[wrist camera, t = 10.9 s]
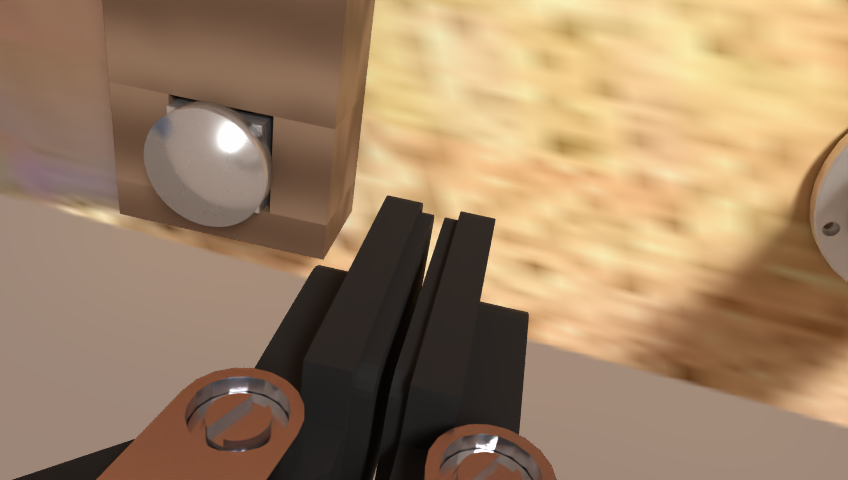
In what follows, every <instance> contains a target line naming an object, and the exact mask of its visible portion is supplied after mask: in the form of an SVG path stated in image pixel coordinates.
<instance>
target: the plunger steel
mask: <svg viewBox="0 0 848 480" xmlns="http://www.w3.org/2000/svg"><path fill="white" fill-rule="evenodd" d="M273 119H274V116H269V115H265V114H260V113H255V112H251V111H246V110H241V109H236V108H232V107H227V106H223V105H220V104H217V103H213V102H205V101H198V100H194V99H189V98H184V97H179V98H178V99H176V100H175V101H173V102H172V103H170V104H169V105H167V114H166V115H165V116H164V117H162V118H161V119H159V120H158V121H157V122H156V123H155V124H154V125H153V127H152V128H151V129H150V131H149V133H148V135H147V138H146V141H145V146H144V163H145V168H146V172H147V175H148V177H149V180H150V182H151V184H152V186H153V188H154V189H155V191H156V192H157V194H158V195H159V196H160V197H161V199H162V200H163V201H164V202H165V203H166V204H167V205H168V206H169V207H170V208H171V209H173V210H174V211H175V212H176V213H178V214H180V215H181V216H183V217H184V218H186V219H188V220H190V221H193V222H195V223H198V224H201V225H205V226H211V227H226V226H231V225H235V224H237V223H240V222H242V221H244V220H246V219H247V218H248V217H249V216H251V215H252V214H253V213H260V212H261V211H262V209H263V208H264V207H265V206H266V205H267V203H268V202H269V201H270V192H271V186H272V182H273V162H272V144H273Z"/></svg>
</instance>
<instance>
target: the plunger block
mask: <svg viewBox="0 0 848 480" xmlns="http://www.w3.org/2000/svg"><path fill="white" fill-rule="evenodd" d="M102 2H103V14H104V26H105V38H106V50H107V62H108V74H109V86H110V98H111V110H112V122H113V134H114V147H115V159H116V171H117V183H118V195H119V207H120V214H124V215H128V216H133V217H137V218H142V219H146V220H150V221H155V222H159V223H164V224H168V225H173V226H177V227H181V228H186V229H190V230H195V231H199V232H204V233H208V234H212V235H217V236H221V237H226V238H230V239H235V240H239V241H243V242H248V243H252V244H257V245H261V246H266V247H270V248H274V249H279V250H283V251H288V252H292V253H296V254H301V255H305V256H310V257H314V258H319V259H324V258H325V256H326V254H327V252H328V251H329V249H330V247H331V246H332V244H333V242H334V240H335V239H336V237H337V235H338V234H339V232H340V230H341V228H342V227H343V225H344V223H345V222H346V220H347V218H348V216H349V215H350V213H351V211H352V204H353V194H354V185H355V176H356V167H357V158H358V149H359V140H360V131H361V121H362V112H363V103H364V94H365V85H366V76H367V67H368V58H369V48H370V39H371V30H372V21H373V12H374V3H375V0H102ZM179 97H184V98H189V99H194V100H198V101H205V102H213V103H217V104H220V105H223V106H227V107H232V108H236V109H241V110H246V111H251V112H255V113H260V114H265V115H269V116H274V119H273V144H272V162H273V182H272V186H271V192H270V201H269V202H268V203H267V205H266V206H265V207H264V208H263V209H262V211H261V212H260V213H253V214H252V215H251V216H249V217H248V218H247V219H246V220H244V221H242V222H240V223H237V224H235V225H231V226H226V227H211V226H205V225H201V224H198V223H195V222H193V221H190V220H188V219H186V218H184V217H183V216H181V215H180V214H178V213H176V212H175V211H174V210H173V209H171V208H170V207H169V206H168V205H167V204H166V203H165V202H164V201H163V200H162V199H161V197H160V196H159V195H158V194H157V192H156V191H155V189H154V188H153V186H152V184H151V182H150V180H149V177H148V175H147V172H146V168H145V163H144V146H145V141H146V138H147V135H148V133H149V131H150V129H151V128H152V127H153V125H154V124H155V123H156V122H157V121H158V120H159V119H161V118H162V117H164V116H165V115H166V114H167V105H169V104H170V103H172V102H173V101H175V100H176V99H178V98H179Z"/></svg>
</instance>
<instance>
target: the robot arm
mask: <svg viewBox="0 0 848 480" xmlns="http://www.w3.org/2000/svg"><path fill="white" fill-rule="evenodd" d="M422 208H423V203H420V202H416V201H411V200H406V199H402V198H397V197H392V196H387V197H386V199H385V201H384V202H383V204H382V206H381V208H380V210H379V212H378V214H377V216H376V218H375V220H374V222H373V224H372V226H371V228H370V230H369V232H368V234H367V236H366V238H365V240H364V242H363V244H362V246H361V248H360V250H359V252H358V254H357V256H356V258H355V259H354V261H353V263H352V265H351V267H350V269H349V271H343V270H339V269H334V268H330V267H325V266H321V265H318V266H316V267H315V268H314V269H313V271H312V272H311V274H310V275H309V277H308V279H307V281H306V282H305V284H304V286H303V287H302V289H301V291H300V292H299V294H298V296H297V297H296V299H295V301H294V303H293V304H292V306H291V308H290V309H289V311H288V313H287V314H286V316H285V318H284V319H283V321H282V323H281V324H280V326H279V328H278V330H277V331H276V333H275V334H274V336H273V338H272V340H271V341H270V343H269V345H268V346H267V348H266V350H265V351H264V353H263V355H262V356H261V358H260V360H259V362H258V363H257V365H256V367H255V368H230V369H225V370H220V371H215V372H212V373H210V374H208V375H205V376H203V377H201V378H199V379H196V380H195V381H194V382H193V383H191V384H190V385H188V386H187V387H186V388H185V389H183V390H182V391H181V392H180V393H179V394H178V395H177V396H176V397H175V398H174V399H173V400H172V401H171V402H170V404H169V405H168V406H167V407H166V408H165V409H164V410H163V411H162V412H161V413H160V414H159V415H158V416H157V417H156V418H155V419H154V420H153V421H152V422H151V423H150V424H149V425H148V426H147V427H146V429H145V430H144V431H143V432H142V433H141V434H140V435H139V436H138V437H137V438H136V439H133V440H130V441H128V442H124V443H122V444H119V445H116V446H112V447H109V448H106V449H103V450H100V451H98V452H94V453H91V454H88V455H85V456H82V457H79V458H76V459H73V460H70V461H67V462H64V463H61V464H58V465H55V466H52V467H49V468H47V469H44V470H41V471H37V472H35V473H32V474H28V475H25V476H22V477H19V478H16V479H13V480H373V477H374V473H375V470H376V467H377V470H376V477H375V480H557V479H556V477H555V474H554V471H553V468H552V465H551V464H550V463H549V461H548V460H547V459H546V457H545V456H544V455H543V453H542V452H541V450H539V449H538V448H537V447H536V446H534V445H533V444H532V443H531V442H530V441H528V440H527V439H526V438H524V437H522V436H520V435H519V428H520V416H521V404H522V392H523V380H524V379H523V378H524V367H525V356H526V344H527V332H528V318H529V314H528V312H524V311H520V310H515V309H511V308H506V307H502V306H497V305H493V304H489V303H484V302H480V298H481V293H482V287H483V282H484V277H485V272H486V266H487V261H488V256H489V251H490V246H491V240H492V235H493V230H494V225H495V219H494V218H489V217H485V216H480V215H475V214H471V213H466V212H462V211H461V212H460V215H459V219H458V220H454V219H450V218H445V219H444V221H443V225H442V228H441V231H440V234H439V237H438V240H437V243H436V246H435V249H434V252H433V255H432V258H431V261H430V264H429V267H428V270H427V274H426V277H425V280H424V283H423V278H424V272H425V267H426V261H427V256H428V250H429V244H430V239H431V233H432V228H433V222H434V215H432V214H427V213H422ZM829 222H830V223H829ZM827 223H829V224H827ZM810 224H811V229H812V233H813V238H814V240H815V242H816V244H817V246H818V248H819V250H820V252H821V254H822V255H823V257H824V258H825V260H826V261H827V262H828V264H829V265H830V267H831V268H832V269H833V270H834V271H835V272H836V273H837V274H838V275H839V276H840V277H841V278H842V279H844V280H845V281H846V282H847V283H848V133H847V134H846V135H845V136H844V137H843V138H842V139H841V140H840V141H839V142H838V143H837V145H836V146H835V148H834V149H833V150H832V152H831V153H830V154H829V156H828V157H827V159H826V160H825V161H824V163H823V166H822V168H821V170H820V172H819V174H818V176H817V178H816V180H815V183H814V187H813V191H812V195H811V199H810ZM825 224H827V225H825ZM422 284H423V286H422Z"/></svg>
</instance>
